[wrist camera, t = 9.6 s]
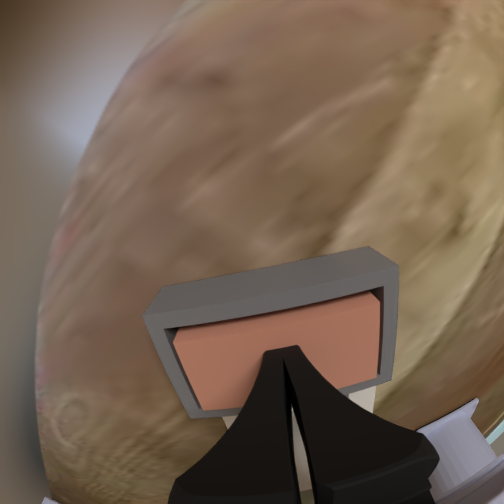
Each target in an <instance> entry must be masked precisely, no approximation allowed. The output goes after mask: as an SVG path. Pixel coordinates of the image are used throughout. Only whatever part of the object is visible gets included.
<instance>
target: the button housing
mask: <svg viewBox="0 0 504 504" xmlns="http://www.w3.org/2000/svg"><path fill="white" fill-rule="evenodd" d="M366 290H369V291H370V292H371V293H372V294H373V295H374V296H375V297H376V298H377V299H378V301H379V302H380V331H379V352H378V366H377V377H376V378H373V379H370V380H367V381H364V382H360V383H357V384H354V385H350V386H347V387H343V388H339V389H337V390H339V391H340V392H341V393H342V394H343V395H347V394H350V393H354V392H357V391H360V390H364V389H367V388H370V387H373V386H376V385H379V384H382V383H385V382H388V381H391V379H392V371H393V364H394V355H395V345H396V334H397V319H398V292H399V265H397V264H396V263H394V262H393V261H391V260H390V259H388V258H387V257H385V256H384V255H382V254H380V253H379V252H377V251H376V250H374V249H373V248H371V247H369V246H367V247H363V248H358V249H354V250H349V251H344V252H339V253H335V254H330V255H325V256H320V257H316V258H311V259H306V260H301V261H296V262H291V263H286V264H281V265H276V266H271V267H266V268H261V269H256V270H251V271H246V272H241V273H235V274H230V275H225V276H220V277H214V278H209V279H204V280H198V281H193V282H187V283H182V284H176V285H171V286H165V287H162V289H161V290H160V292H159V293H158V294H157V296H156V297H155V298H154V300H153V301H152V302H151V304H150V305H149V307H148V308H147V309H146V311H145V312H144V314H143V315H142V317H143V319H144V322H145V324H146V327H147V329H148V332H149V334H150V336H151V339H152V341H153V344H154V346H155V348H156V350H157V353H158V355H159V357H160V359H161V362H162V364H163V366H164V368H165V370H166V372H167V374H168V376H169V378H170V381H171V383H172V385H173V387H174V389H175V391H176V393H177V394H178V396H179V398H180V400H181V402H182V404H183V406H184V408H185V410H186V411H187V413H188V415H189V417H190V419H194V418H213V417H226V416H236V415H238V414H239V413H240V411H241V409H242V408H243V407H238V408H229V409H218V410H204V411H203V409H202V407H201V405H200V403H199V401H198V399H197V397H196V394H195V392H194V390H193V388H192V386H191V384H190V382H189V379H188V377H187V375H186V373H185V370H184V368H183V366H182V363H181V361H180V359H179V356H178V354H177V351H176V349H175V346H174V344H173V341H174V339H175V336H176V334H177V332H178V329H179V327H181V326H188V325H195V324H202V323H209V322H215V321H221V320H227V319H233V318H239V317H245V316H251V315H256V314H262V313H267V312H272V311H277V310H282V309H287V308H292V307H297V306H302V305H306V304H311V303H315V302H320V301H324V300H329V299H333V298H337V297H341V296H346V295H350V294H354V293H358V292H362V291H366Z"/></svg>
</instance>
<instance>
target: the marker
mask: <svg viewBox="0 0 504 504" xmlns="http://www.w3.org/2000/svg"><path fill="white" fill-rule="evenodd" d="M292 421H293V441H294V455H295V463H296V469H297V476H298V482H299V489H300V495H301V502H302V504H315V503H314V497H313V491H312V485H311V480H310V474H309V468H308V462H307V457H306V452H305V448H304V445H303V441H302V438H301V435H300V431H299V428H298V425H297V421H296V418H295V414H294V411H292Z"/></svg>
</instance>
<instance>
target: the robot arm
mask: <svg viewBox="0 0 504 504" xmlns="http://www.w3.org/2000/svg"><path fill="white" fill-rule="evenodd" d="M478 402H479V400H478V398H476V399H474V400H472V401H471V402H469V403H467V404H466V405H464V406H462V407H461V408H459V409H457V410H455V411H454V412H452V413H450V414H448V415H446V416H444V417H443V418H441V419H439V420H437V421H435V422H433V423H431V424H429V425H427V426H425V427H422V428H420V429H419V430H417V431H413V430H410V429H407V428H404V427H401V426H398V425H396V424H393V423H391V422H389V421H386V420H384V419H382V418H380V417H378V416H377V415H375V414H373V413H371V412H369V411H367V410H366V409H364V408H362V407H361V406H359V405H358V404H356V403H355V402H353V401H352V400H350V399H349V398H347V397H346V396H345V395H343V394H342V393H341V392H340V391H339V390H337V389H336V388H335V387H334V386H333V385H332V384H331V383H329V382H328V381H327V380H326V379H325V378H324V377H323V376H322V375H321V374H320V372H319V371H318V370H317V369H316V368H315V367H314V366H313V365H312V364H311V362H310V361H309V360H308V358H307V357H306V356H305V354H304V353H303V351H302V350H301V348H300V346H298V345H293V346H288V347H283V348H278V349H272V350H267V351H265V352H264V353H263V359H262V363H261V366H260V369H259V373H258V375H257V378H256V380H255V383H254V385H253V388H252V390H251V392H250V394H249V396H248V398H247V400H246V402H245V404H244V406H243V408H242V409H241V411H240V413H239V414H238V416H237V417H236V419H235V420H234V422H233V423H232V425H231V426H230V427H229V429H228V430H227V431H226V433H225V434H224V435H223V436H222V438H221V439H220V440H219V441H218V442H217V443H216V444H215V445H214V447H213V448H212V449H211V450H210V451H209V452H208V453H207V454H206V455H205V456H204V457H203V458H202V459H201V460H199V461H198V462H197V463H196V464H195V465H194V466H192V467H191V468H190V469H189V470H187V471H186V472H185V473H183V474H182V475H181V476H180V477H178V478H177V479H176V480H175V482H174V485H173V487H172V490H171V493H170V495H169V500H168V504H302V502H301V495H300V489H299V482H298V476H297V469H296V463H295V455H294V441H293V421H292V408H293V411H294V414H295V418H296V421H297V425H298V428H299V431H300V435H301V438H302V441H303V445H304V448H305V452H306V457H307V462H308V468H309V474H310V480H311V485H312V491H313V497H314V503H315V504H504V453H503V454H501V455H500V456H499V457H497V456H496V454H495V453H494V451H493V450H492V448H491V447H490V445H489V444H488V443H487V441H486V440H485V438H484V437H483V435H482V434H481V432H480V431H479V430H478V428H477V427H476V425H475V424H474V423H473V421H472V420H471V419H470V418H471V416H472V414H473V412H474V410H475V408H476V406H477V404H478ZM42 504H60V503H58V502H56V501H54V500H52V499H50V498H48V497H45V498H44V500H43V502H42Z"/></svg>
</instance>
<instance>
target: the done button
mask: <svg viewBox="0 0 504 504" xmlns="http://www.w3.org/2000/svg"><path fill="white" fill-rule="evenodd" d="M379 331H380V302H379V301H378V299H377V298H376V297H375V296H374V295H373V294H372V293H371V292H370V291H369V290H366V291H362V292H358V293H354V294H350V295H346V296H341V297H337V298H333V299H329V300H324V301H320V302H315V303H311V304H306V305H302V306H297V307H292V308H287V309H282V310H277V311H272V312H267V313H262V314H256V315H251V316H245V317H239V318H233V319H227V320H221V321H215V322H209V323H202V324H195V325H188V326H181V327H179V329H178V332H177V334H176V336H175V339H174V341H173V344H174V346H175V349H176V351H177V354H178V356H179V359H180V361H181V363H182V366H183V368H184V370H185V373H186V375H187V377H188V379H189V382H190V384H191V386H192V388H193V390H194V392H195V394H196V397H197V399H198V401H199V403H200V405H201V407H202V409H203V411H204V410H218V409H229V408H238V407H243V406H244V404H245V402H246V400H247V398H248V396H249V394H250V392H251V390H252V388H253V385H254V383H255V380H256V378H257V375H258V373H259V369H260V366H261V363H262V359H263V353H264V352H265V351H267V350H272V349H278V348H283V347H288V346H293V345H298V346H300V348H301V350H302V351H303V353H304V354H305V356H306V357H307V358H308V360H309V361H310V362H311V364H312V365H313V366H314V367H315V368H316V369H317V370H318V371H319V372H320V374H321V375H322V376H323V377H324V378H325V379H326V380H327V381H328V382H329V383H331V384H332V385H333V386H334V387H335V388H336V389H339V388H343V387H347V386H350V385H354V384H357V383H360V382H364V381H367V380H370V379H373V378H376V377H377V366H378V352H379Z"/></svg>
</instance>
